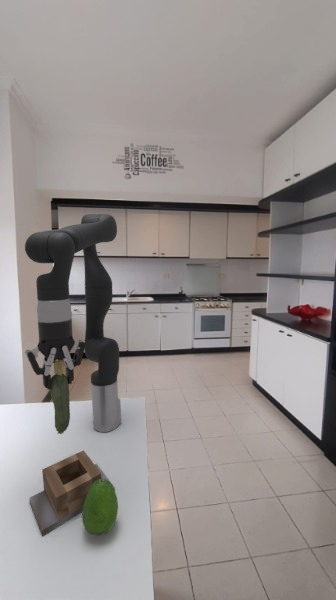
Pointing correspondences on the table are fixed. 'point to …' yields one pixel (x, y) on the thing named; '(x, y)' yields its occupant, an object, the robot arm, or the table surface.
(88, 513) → the avocado
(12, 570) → the table surface
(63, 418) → the vegetable
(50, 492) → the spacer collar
